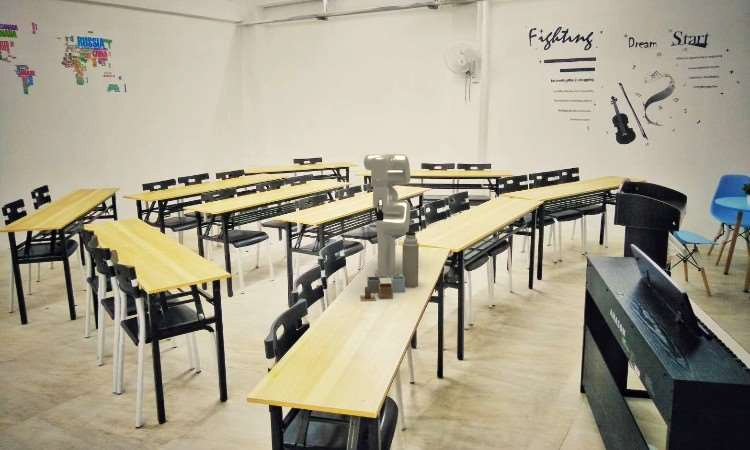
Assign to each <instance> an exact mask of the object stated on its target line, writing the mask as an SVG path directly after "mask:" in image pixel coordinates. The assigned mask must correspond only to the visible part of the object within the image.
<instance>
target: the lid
mask: <svg viewBox="0 0 750 450" xmlns="http://www.w3.org/2000/svg"><path fill="white" fill-rule="evenodd" d="M359 297H360V302H376V301H377V299H376V295H375V294H372V293H371V287H367V286H365V287H364V295H361V294H360V295H359Z"/></svg>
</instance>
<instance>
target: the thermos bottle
mask: <svg viewBox="0 0 750 450" xmlns="http://www.w3.org/2000/svg"><path fill="white" fill-rule="evenodd" d="M419 252H420V251H419V243H418V238H417V237H416V231H408V232H406V235H405V237H404V238H403V242H402V259H401V260H402V263H401V264H402V274H401V276H404V278H405V288H407V289H411V288H413V289H414V288H417V287H418V286H419Z"/></svg>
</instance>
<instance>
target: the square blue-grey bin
mask: <svg viewBox="0 0 750 450" xmlns="http://www.w3.org/2000/svg"><path fill="white" fill-rule="evenodd" d="M390 279H391V281H390V282H391V283H392V286H393V294H394V293H395V294H396V293H406V287H405V278H404V276H402V275H397V276H391V277H390Z"/></svg>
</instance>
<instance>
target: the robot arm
mask: <svg viewBox="0 0 750 450" xmlns="http://www.w3.org/2000/svg"><path fill="white" fill-rule="evenodd" d="M363 165H364V169H365V170H366V171H370V179H371V180H370V184H371V185H370V186H371V187H372V188H373V189H372V206H373V207H374V216H375V217H376V222H375V229H376V237H377V270H375V272H374V276H379V277H380V278H383V279H384V278H385V279H387V278H391V276H399V271H398V270H397V269H396V242H395V239H394V237H393V236H406V232H410V231H409V230H410V222H411V221H410V220H411V204H410V202H409V201H408V200H405V199H399V198H398V197H399V193H398V191H397V189H395V188H394V187H393V186H392V185H408V184H409V183H410V182H411V177H412V176H411V169H410V162H409V157H408V156H407V155H405V154H403V153H402V154H397V153H396V154H395V153H393V154H392V153H391V154H389V153H379V154H366V155H365V156H364V160H363Z"/></svg>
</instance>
